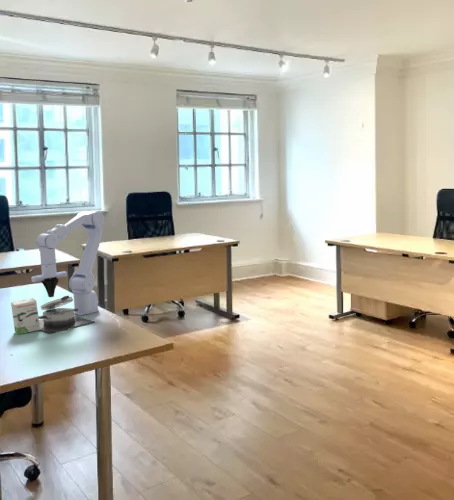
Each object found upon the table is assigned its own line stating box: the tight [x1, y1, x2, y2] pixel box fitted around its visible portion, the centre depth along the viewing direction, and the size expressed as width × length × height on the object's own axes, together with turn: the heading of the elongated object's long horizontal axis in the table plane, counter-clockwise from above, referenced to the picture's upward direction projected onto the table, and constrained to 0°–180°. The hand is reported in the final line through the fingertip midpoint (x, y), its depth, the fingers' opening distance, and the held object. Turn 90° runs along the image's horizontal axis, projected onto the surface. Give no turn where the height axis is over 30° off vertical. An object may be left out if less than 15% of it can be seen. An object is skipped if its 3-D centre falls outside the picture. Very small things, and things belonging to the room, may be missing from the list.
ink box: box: [10, 297, 40, 335], centre depth 221 cm, size 9×5×12 cm, turn 123°
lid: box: [40, 295, 74, 311], centre depth 231 cm, size 13×16×2 cm
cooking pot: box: [38, 307, 95, 335], centre depth 232 cm, size 20×20×5 cm
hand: (51, 296), depth 234 cm, fingers closed
